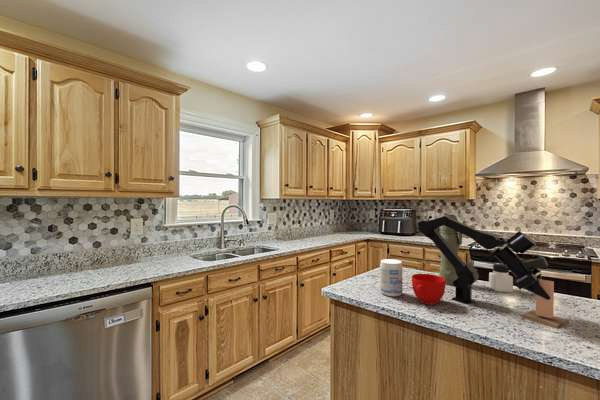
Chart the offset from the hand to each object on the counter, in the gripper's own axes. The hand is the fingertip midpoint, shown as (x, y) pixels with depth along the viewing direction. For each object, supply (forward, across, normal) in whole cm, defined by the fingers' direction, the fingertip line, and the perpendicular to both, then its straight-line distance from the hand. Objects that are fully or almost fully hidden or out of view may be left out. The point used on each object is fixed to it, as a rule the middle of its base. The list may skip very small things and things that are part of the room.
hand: (549, 297), depth 99 cm
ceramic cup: (-20, -14, +33) cm, 41 cm away
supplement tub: (-31, -13, +44) cm, 55 cm away
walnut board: (+5, 0, +7) cm, 8 cm away
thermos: (-22, +22, +34) cm, 46 cm away
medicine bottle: (-7, +29, +20) cm, 36 cm away
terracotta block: (+4, 0, +6) cm, 7 cm away
